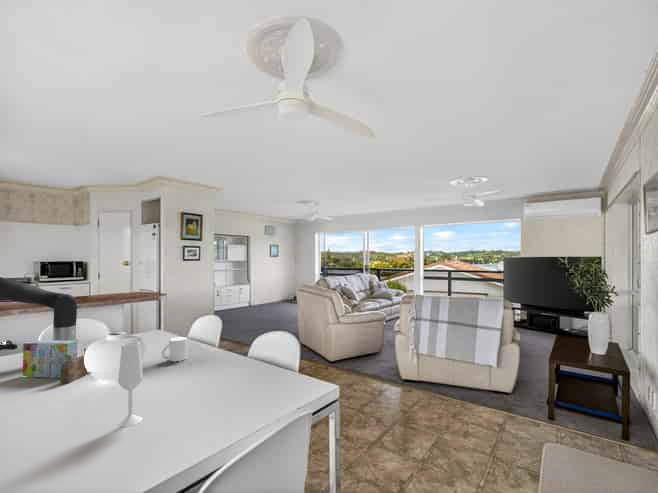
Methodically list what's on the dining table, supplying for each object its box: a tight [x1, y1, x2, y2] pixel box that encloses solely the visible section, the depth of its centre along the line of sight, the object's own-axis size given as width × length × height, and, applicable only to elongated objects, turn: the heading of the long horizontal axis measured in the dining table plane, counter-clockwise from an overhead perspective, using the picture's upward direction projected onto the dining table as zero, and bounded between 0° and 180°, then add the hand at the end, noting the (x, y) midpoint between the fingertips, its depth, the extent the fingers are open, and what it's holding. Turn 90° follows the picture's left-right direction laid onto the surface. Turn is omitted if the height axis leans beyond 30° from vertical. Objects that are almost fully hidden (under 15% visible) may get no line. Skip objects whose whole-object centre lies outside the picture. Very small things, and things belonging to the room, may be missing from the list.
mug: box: [161, 336, 188, 363], centre depth 171 cm, size 8×10×12 cm
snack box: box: [22, 340, 76, 379], centre depth 150 cm, size 21×6×15 cm, turn 84°
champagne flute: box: [117, 341, 144, 428], centre depth 107 cm, size 7×7×24 cm
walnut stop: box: [60, 347, 90, 385], centre depth 148 cm, size 15×3×11 cm, turn 179°
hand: (15, 346), depth 149 cm, fingers closed
